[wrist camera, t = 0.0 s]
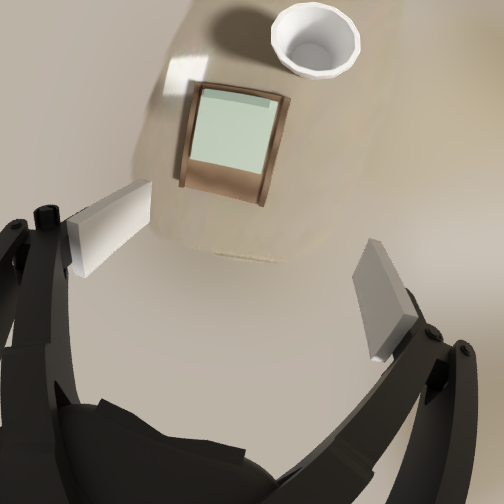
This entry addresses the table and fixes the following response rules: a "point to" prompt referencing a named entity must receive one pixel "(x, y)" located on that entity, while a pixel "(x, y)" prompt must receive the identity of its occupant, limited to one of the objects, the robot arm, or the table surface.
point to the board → (229, 178)
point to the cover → (233, 130)
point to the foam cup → (315, 40)
